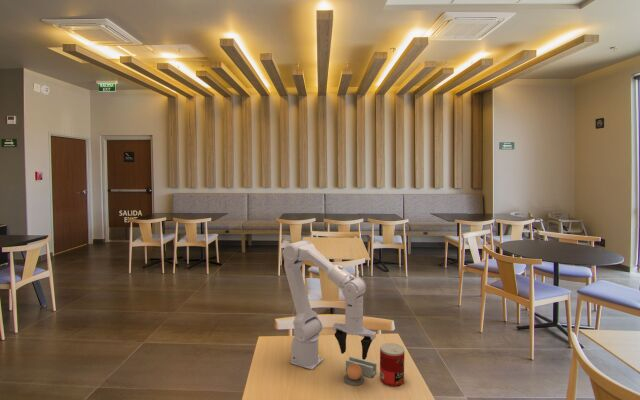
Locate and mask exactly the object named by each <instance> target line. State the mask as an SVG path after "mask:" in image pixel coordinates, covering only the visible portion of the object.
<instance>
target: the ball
mask: <svg viewBox="0 0 640 400" xmlns="http://www.w3.org/2000/svg"><path fill="white" fill-rule="evenodd" d="M346 373H347V375H348V376H349V378H351V379H353V380H356V379H359V378H360V377H361V375H362V369H361V367H360V366H359V365H358V364H356V363H352V364H350V365H349V366H348V368H347V370H346ZM362 376H363V375H362Z"/></svg>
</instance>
